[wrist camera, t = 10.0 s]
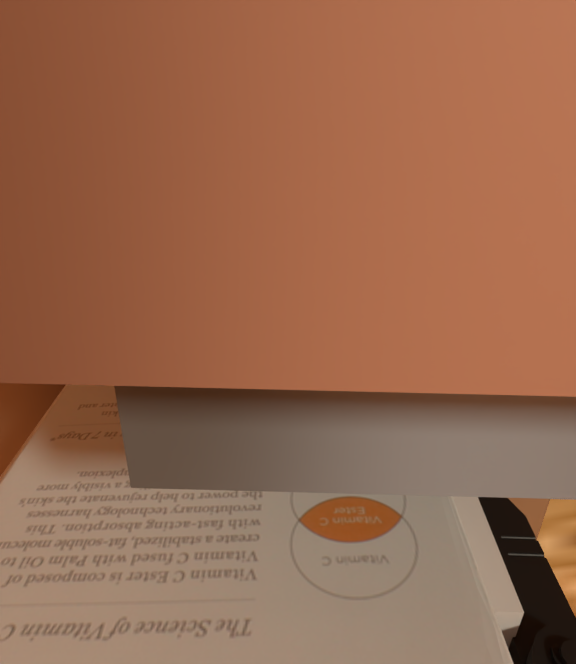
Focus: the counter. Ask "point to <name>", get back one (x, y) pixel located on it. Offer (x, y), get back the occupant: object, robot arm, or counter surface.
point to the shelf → (297, 240)
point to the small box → (222, 565)
